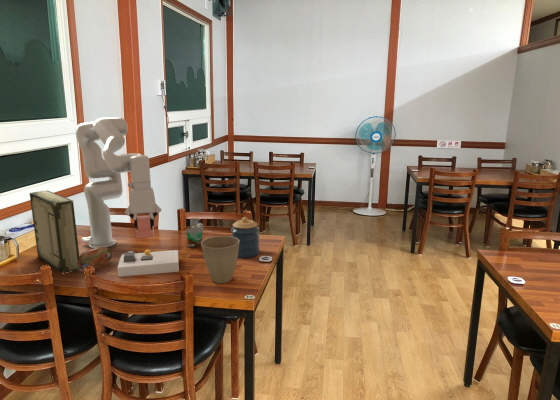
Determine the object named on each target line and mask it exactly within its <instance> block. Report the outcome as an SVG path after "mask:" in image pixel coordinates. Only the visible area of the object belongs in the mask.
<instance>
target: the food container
mask: <svg viewBox="0 0 560 400" xmlns="http://www.w3.org/2000/svg"><path fill="white" fill-rule="evenodd" d="M194 223H195V224H193V225H191V226H190V227H189V228H188V227H187V228H186V229H185V233H186V238H187V248H189V249H191V248H198V247H199V248H200V247H202V246H201V242H202V241H203V231H204V229H205V227H204V225H203V223H202V222H198V221H197V222H194Z"/></svg>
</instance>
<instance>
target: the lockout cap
mask: <svg viewBox="0 0 560 400" xmlns="http://www.w3.org/2000/svg"><path fill="white" fill-rule="evenodd" d="M137 224H138V229H135V239H148V238H149V239H150V238H154V234H155V229H154V226H155V225H154V226H153V227H152V229H151V226H150V214H149V215H137Z"/></svg>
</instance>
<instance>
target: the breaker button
mask: <svg viewBox="0 0 560 400" xmlns="http://www.w3.org/2000/svg"><path fill="white" fill-rule="evenodd" d="M135 253H136V252H135V251H133V252H132V253H128V252H124V253H123V254H124V262H134V261H135Z"/></svg>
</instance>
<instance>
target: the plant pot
mask: <svg viewBox="0 0 560 400" xmlns="http://www.w3.org/2000/svg"><path fill="white" fill-rule="evenodd" d="M231 236H232V235H231ZM231 236H230V235H229V236H228V235H216V236H211V237H207V238H204V239H202V242H201V246H200V247H201V250H202V254H203V258H204V262H205V264H206V268H207V271H208V272H209V275H210V277H211V279H212V282H213V283H216V284H226V283H229V282H230V281H232V279H233V275H234V272H235V269H236V266H237V261H238V258H239V257H238V251H239V239H237V238H235V237H231Z"/></svg>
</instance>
